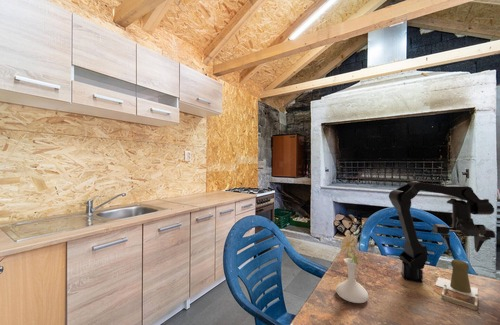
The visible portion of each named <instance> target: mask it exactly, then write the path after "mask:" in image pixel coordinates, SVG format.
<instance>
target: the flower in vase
mask: <svg viewBox="0 0 500 325" xmlns="http://www.w3.org/2000/svg"><path fill="white" fill-rule="evenodd" d="M357 242H358V241H357V239H356V237H355V236H354V234H351V235H350V233H349V234H346V235H345V236H343V237H342V239H341V242H340V252H342V254H343V255H347V256H348V257H349V258H344V259H343V262H345V264H346V267H347V271H348V272H347V273H348V274H347V275H348V276H347V277H348V278H346V280H344V281H342V282H340V283H338V284H337V286H336V288H335V291H336V293H337V294H338V296H339V297H340V298H341V299H343V300H345V301H347V302H350V303H354V304H363V303H365V302H367V301H368V300H369V293H368V291H367V290H366V289H365V287H363V286H362V285H361V284H360V283H359V282H357V280H356V275H355V274H356V272H355V271H356V269H357V268H356V267H357V265H359V261H358V260H359V257H358V255H357V256H356V253H355V249H357V248H356V247H357ZM352 253H353V254H352Z"/></svg>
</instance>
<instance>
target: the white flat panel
mask: <svg viewBox="0 0 500 325" xmlns="http://www.w3.org/2000/svg"><path fill="white" fill-rule="evenodd" d="M450 283H451V279H447V278H444V277H440V276H438V277H437V279H436V281H435V285H434V286H436V287H438V288H442V289H443V288H444V285H446V290H449V291H452V292H454V293H458V294H461V295H464V296H467V297H470V298H474V299H475V294H477V295H479V294H478V292H479V288H478V287H474V286H471V285H470V288H471V292H470V293H465V292H460V291H457V290H455V289H453V288H452V287H451V286H450Z"/></svg>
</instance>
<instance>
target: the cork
mask: <svg viewBox="0 0 500 325" xmlns="http://www.w3.org/2000/svg"><path fill="white" fill-rule="evenodd" d="M450 265H451V268H452V271H451V278H450V280H451V283H450V286H451V287H452V288H453V289H455V290H457V291H460V292H465V293H470V292H471V288H470V286H471V284H470V278H469V273H468V272H469V270H470V265H469V264H468V262H467V261H464V260H460V259H453V260H451V262H450Z"/></svg>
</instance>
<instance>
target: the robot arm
mask: <svg viewBox="0 0 500 325" xmlns="http://www.w3.org/2000/svg"><path fill="white" fill-rule="evenodd" d="M420 192H427V193H434V194H435V193H436V194H442V195H444V196H448V197H450V199H449V200H447V201H446V203H447V204H450V205H451V207H452V214H451V215H450V216H451V218H452V223H451V226H447V225H445V224H442V223H441V224H439V223H434V224H433V225H432V230H433V231H434V232H436V233H437V234H439V235H440V236H441V238H442V239H443V242H444V243H445V246H446V247H447V249H448V250H451V242H450V241H451V240H450V237H451V235H450V234H449V233H450V232H451V233H461V234H462V235H463V236H465V237H473V242H474V251H475V252H476V253H479V251H480V249H481V248H482V246H483V244H484V243H485V242H486V241H488V240H489V241H490V240H492V239H496V233H495V232H494V230H492V229H489V228H488V227H486V226H485V225H484V224H475V223H474V218H472V215H475V216H476V215H477V216H478V215H481V216H483V215H484V216H485V215H487V216H488V215H489V216H490V215H493V213H494V212H495V208H494V205H493V204H492V203H491V202H490V200H489V199H488V198H480V197H478V195H477V194H476V193H475V192H474V190H473V188H472V187H470V186H467V185H466V186H465V185H458V184H449V185H447V184H446V185H441V184H433V183H427V182H421V181H416V180H415V181H414V180H411V181H409V182H408V183H406V184H404V185H401V186H400V187H398V188H397V189H392V190H391V191H390V192H389V193H388V198H389V201H390V203H391V204H392V206H393V208H394V209H395V210H396V211H397V215H398V219H399V223H400V227H401V230H402V234H403V236H404V240H405V241H404V244H403V251H402V252H401V253H400V254H398V258H399V260H400V261H401V272H400V274H401V276H402V277H403V279H404V281H409V282H415V283H422V284H423V282H424V281H423V279H424V275H423V273H424V272H423V270H424V268H425V266H426V263H427V261H428V260H429V257H428V256H430V254H429V253H428V248H427V246H426V245H425V244H423V243H421V242H420V240H419V238H418V237H419V236H418V234H417V231H416V228H415V227H416V226H415V223H414V220H413V217H412V213H411V207H412V200H413V199H414V198H415V197H417V195H418V193H420Z"/></svg>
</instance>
